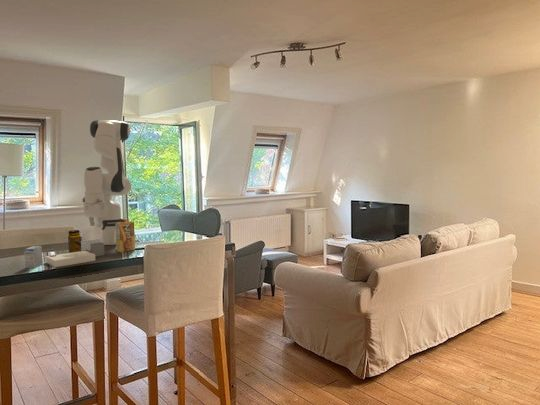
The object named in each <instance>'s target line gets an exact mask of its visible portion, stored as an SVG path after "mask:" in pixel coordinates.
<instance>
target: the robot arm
mask: <svg viewBox="0 0 540 405" xmlns="http://www.w3.org/2000/svg"><path fill="white" fill-rule="evenodd" d="M89 133H90V135H91V137H92V138H94V142H93V144H94V145H93V147H94V150H95V151H96V152H97V153H98V154H99V155H100V167H99V166H90V167H87V168H85V170H84V178H83V179H84V182H83V184H84V187H85V192H84V197H83V198H82V203H83V212H84V216H85V217H86V218H87V217H88V220H89V224H90V226H92V227H94V226H95V225H96V226H97V228H100V229H101V230H100V231H101V232H100V241H99V242H101V243H104V246H108V245H109V246H110V245H111V246H115V245H116V224H115V223H120V222H128V219H126V218H124V219H123V218H122V212H121V211H122V210H121V209H122V208H121V206H120V205H121V204H119V203H118V202H116V201H114V199H113V198H112V196H114V197H115V196H116V197H117V196H119V197H120V196H123V195H128V194H130V192H131V190H132V182H131V181H130V179H129V178H128V177H126V176H125V171H124V170H125V169H124V161H123V154H122V143H124V142H126V141H127V140H129V139H128V138H130V135H131V126H130V124H129V123H128V122H126V121H121V120H120V121H119V120H112V119H110V120H107V119H106V120H99V119H98V120H97V119H96V120H93V121H91V123H90V125H89ZM102 169H103V170H102ZM103 171H106V172H107V173H103ZM94 219H97V224H95V220H94ZM134 234H135V232H134ZM135 235H136V234H135ZM136 242H140V238H139V237H136V236H135V243H136ZM116 246H117V245H116Z"/></svg>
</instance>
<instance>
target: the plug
mask: <svg viewBox="0 0 540 405" xmlns="http://www.w3.org/2000/svg"><path fill="white" fill-rule="evenodd" d="M89 245H90V253H93V254H95V257H101V256H105V254H106V253H105V245H104V243H101V242H100V241H98V242H91V243H89Z"/></svg>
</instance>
